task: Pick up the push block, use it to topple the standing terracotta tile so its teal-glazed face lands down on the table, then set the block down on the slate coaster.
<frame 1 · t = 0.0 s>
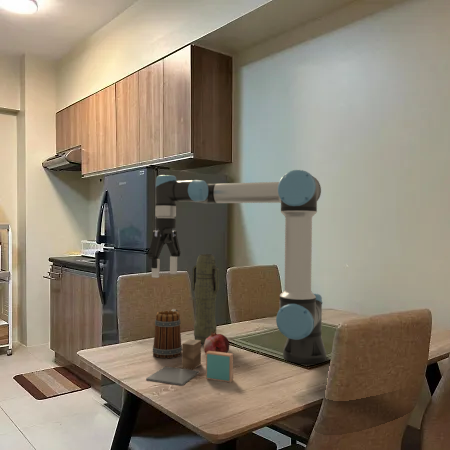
hand: (164, 275, 160), 28 cm above the table, fingers open, 13 cm apart
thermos: (205, 342, 175), on the table
tile: (219, 379, 132), on the table
fruit: (216, 358, 154), on the table
push block: (191, 366, 144), on the table
coaster: (173, 376, 134), on the table
mug: (169, 353, 159), on the table
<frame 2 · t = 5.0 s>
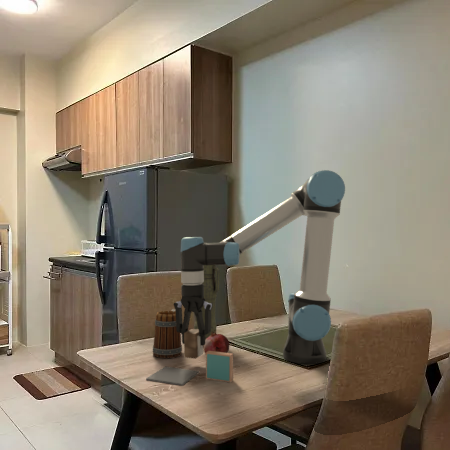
hand: (193, 354, 144), 4 cm above the table, fingers closed on push block, 4 cm apart
push block: (193, 355, 144), point 3 cm above the table, touching gripper
everything else where it was.
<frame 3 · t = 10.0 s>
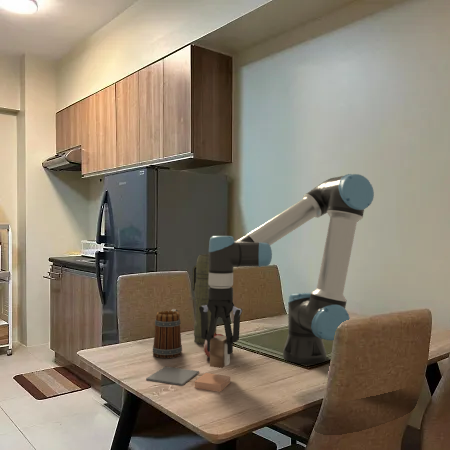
hand: (219, 363, 132), 5 cm above the table, fingers closed on push block, 4 cm apart
tile: (218, 377, 131), point 1 cm above the table, tilted 90°
push block: (219, 364, 132), point 4 cm above the table, touching gripper
everything else where it was.
when the fingers open (2 cm above the table, at t = 15.9 s): push block stays where it is, resting on coaster.
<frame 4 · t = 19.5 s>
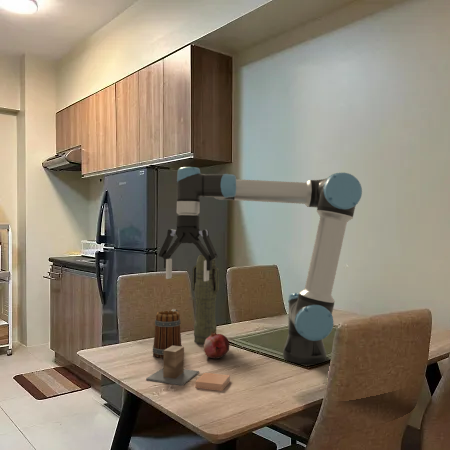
hand: (187, 279, 142), 29 cm above the table, fingers open, 13 cm apart
push block: (173, 374, 134), resting on coaster
at the end: tile tilted 90°; tile inside the target area (4.4 cm from its centre), point 0.7 cm above the table; push block inside the target area on the coaster (0.1 cm from its centre), point 0.5 cm above the coaster's base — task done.
